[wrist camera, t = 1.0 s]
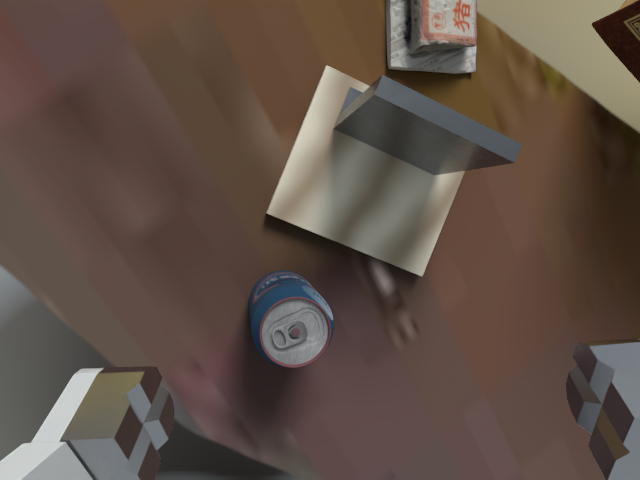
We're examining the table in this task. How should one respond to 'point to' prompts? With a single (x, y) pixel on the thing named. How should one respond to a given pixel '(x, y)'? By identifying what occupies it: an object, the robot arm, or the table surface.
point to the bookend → (421, 130)
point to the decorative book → (623, 34)
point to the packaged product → (431, 35)
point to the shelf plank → (360, 187)
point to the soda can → (289, 320)
